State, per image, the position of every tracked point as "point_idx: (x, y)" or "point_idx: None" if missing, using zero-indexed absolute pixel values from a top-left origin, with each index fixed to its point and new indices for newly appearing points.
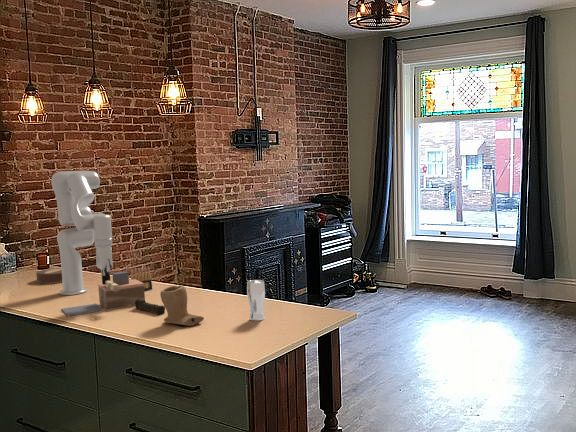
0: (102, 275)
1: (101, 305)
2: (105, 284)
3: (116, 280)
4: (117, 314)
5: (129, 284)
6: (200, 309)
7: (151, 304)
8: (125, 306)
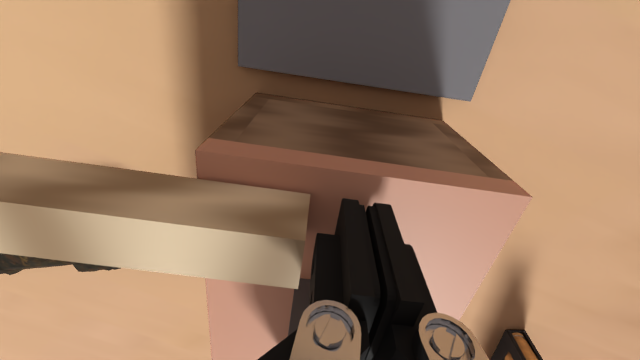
0: (399, 306)
1: (398, 114)
2: (299, 207)
3: (289, 331)
4: (73, 83)
5: (244, 345)
6: (11, 345)
7: (8, 260)
8: None
